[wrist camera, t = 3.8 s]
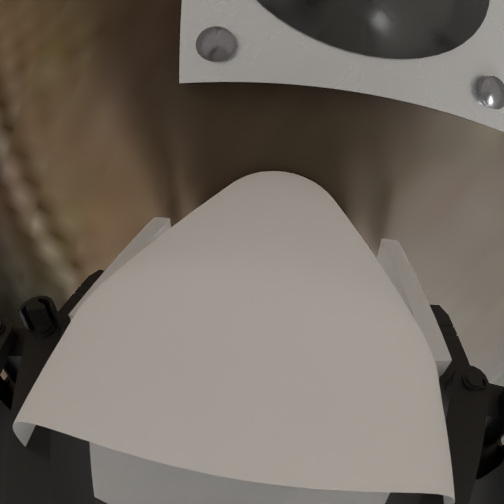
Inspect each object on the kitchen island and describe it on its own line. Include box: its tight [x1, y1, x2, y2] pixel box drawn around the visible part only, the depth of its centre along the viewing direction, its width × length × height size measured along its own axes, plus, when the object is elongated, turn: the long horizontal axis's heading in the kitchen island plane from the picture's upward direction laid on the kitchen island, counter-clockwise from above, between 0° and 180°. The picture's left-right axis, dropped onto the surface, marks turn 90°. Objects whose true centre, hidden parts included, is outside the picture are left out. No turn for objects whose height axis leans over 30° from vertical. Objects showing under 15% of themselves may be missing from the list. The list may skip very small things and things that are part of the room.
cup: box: [13, 171, 455, 504], centre depth 9 cm, size 9×9×12 cm
